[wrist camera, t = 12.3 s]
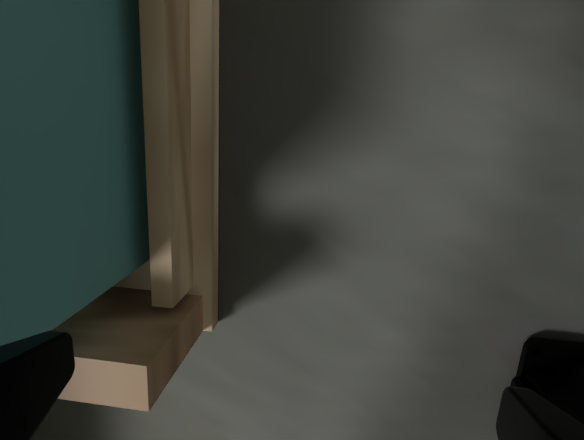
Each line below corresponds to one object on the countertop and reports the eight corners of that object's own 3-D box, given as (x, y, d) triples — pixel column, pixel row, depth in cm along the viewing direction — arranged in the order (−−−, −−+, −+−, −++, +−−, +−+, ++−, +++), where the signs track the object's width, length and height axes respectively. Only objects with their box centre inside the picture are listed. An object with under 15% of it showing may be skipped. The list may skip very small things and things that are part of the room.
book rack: (219, -105, 17) (135, -256, 10) (217, 322, 22) (161, 413, 15) (3, -103, 18) (-205, -239, 11) (50, 302, 23) (-73, 380, 16)
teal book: (145, -8, 17) (-113, -173, 7) (156, 254, 20) (-17, 379, 10) (59, -10, 17) (-291, -167, 8) (83, 247, 20) (-148, 361, 11)
